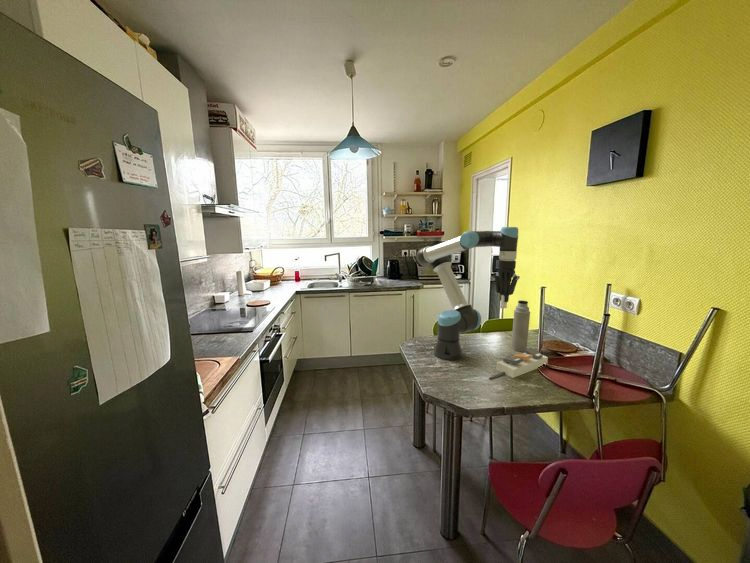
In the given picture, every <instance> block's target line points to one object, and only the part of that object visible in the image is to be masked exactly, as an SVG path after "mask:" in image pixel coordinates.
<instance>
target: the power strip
mask: <svg viewBox="0 0 750 563" xmlns="http://www.w3.org/2000/svg"><path fill="white" fill-rule="evenodd" d="M522 354H527V353H525V352H522ZM542 355H543V356H542V358H539V359H535V358H531V359H528V360H523V362H521V363H518V364H513V363H508V362H503V359H501V360H500V361H496V368H495V369H496V371H498V372H500V373H497V374H493V375H491V376H489V377H488V379H489V380H492V379H494V378H497V377H500V376H503V375H506V376H508V377H510V378H512V379H514V378H516V377H518V376H521V375H523V374H527V373H530V372H532V371H534V370H535V371H536V370H537V369H539V368H538V367H540V366H542V365H543V364H544V363H547V364H548V361H549V360H548V359H549V357H548V356H546V355H545V354H542ZM542 367H543V366H542ZM540 368H541V367H540Z"/></svg>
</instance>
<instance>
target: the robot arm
mask: <svg viewBox="0 0 750 563" xmlns="http://www.w3.org/2000/svg"><path fill="white" fill-rule="evenodd" d="M518 241H519V228H518V227H516V226H502V227H501V229H500V230H498V231H497V230H469V231H468V230H467V231H463V233H462V234H461V235H459V236H456V237H454V238H452V239H449V240H445V241H444V242H440V243H437V244H435V245H432V246H431V245H427V246H425V247H421V248H420V249H419V250H418V251H417V252H416V261H417V263H418V264H419V265H420V266H422V267H427V268H428V267H429V268H430V267H431V268H432V271H433V272H434V273H436V274H437V276H438V278H439V280H440V282H441V285H442V287H443V290H444V292H445V294H446V297H447V299H448V301H449V303H450V305H451V308H452V309H450V310H443V311H441V312H440V313H439V314H438V317H437V336H436V337H437V339H436V342H435V345H434V348H433V355H434V356H436V357H437V358H440V359H443V360H459V359H460V358H462V357H463V350H462V347H461V343H460V337H461V334H464V333H468V332H473V331H474V330H478V328H479V327H480V326H481V323H482V316H481V314H480V312H479V311H478V310H476V309H475V308H473V307H472V304H471V303H468V302H467V300H466V297H465V296H464V294H463V291H462V289H461V286H460V284H459V283H458V280H457V278H456V276H455V274H454V272H453V269H452V264H453V263H452V261H453V259H452V258H453V255H454V254H456V253H460V252H463V251H466V250H470V249H474V248H481V247H483V248H484V247H485V248H486V247H498V248H499V251H498V252H499V253H498V254H499V255H498V259H499V260H498V269H497V271H495V272H494V273H493V277H494V283H495V289H496V293H498V294H499V302H500V307H499V309H507V307H508V302H509V298H510V296H512V295H514V294H515V293H514V292H515V290H516V286H517V283H518V281H519V279H520V276H519V275H517V274H516V265H517V261H516V260H517V257H518V256H517V254H518V251H517V250H518Z"/></svg>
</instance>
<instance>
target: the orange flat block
mask: <svg viewBox="0 0 750 563" xmlns="http://www.w3.org/2000/svg"><path fill="white" fill-rule="evenodd" d="M512 357H516V358H521V359H523V360H528V359H531V358H533V355H530V354H523V353H519V352H518V353H517V354H514V355H513V356H512Z"/></svg>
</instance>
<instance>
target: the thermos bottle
mask: <svg viewBox="0 0 750 563" xmlns="http://www.w3.org/2000/svg"><path fill="white" fill-rule="evenodd" d="M528 304H529V301H527V300H518V301H517V305H516V306H515V309H514V310H513V311H514V312H513V320H512V321H513V322H512V330H511V331H512V334H511V343H510V344H511V346H510V348H511V349H512V350H513V351H516V352H520V351H521V352H522V353H525V352H524V349H527V348H528V340H529V339H528V338H529V326H530V320H531V319H530V318H531V311H530V307H529V306H528Z"/></svg>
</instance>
